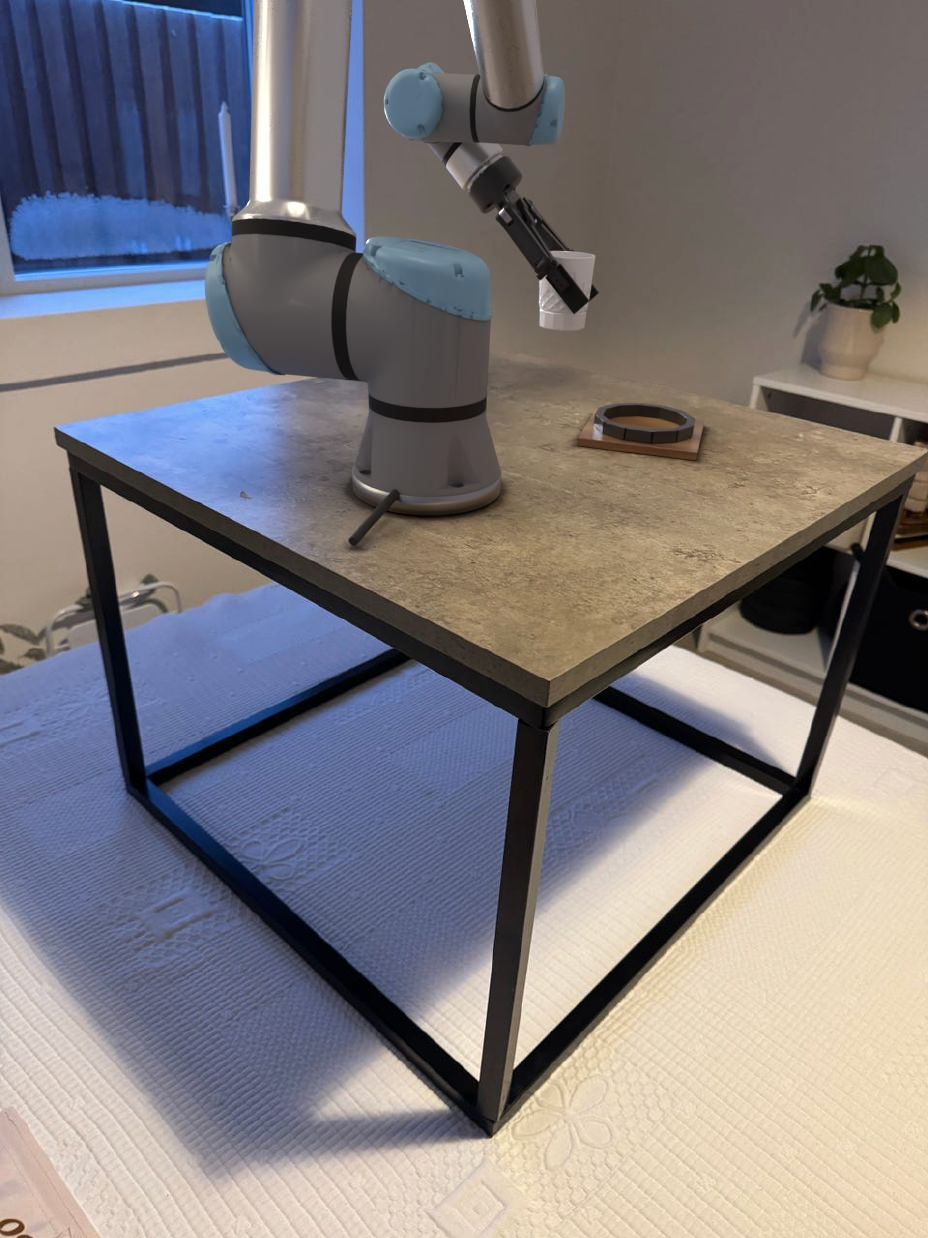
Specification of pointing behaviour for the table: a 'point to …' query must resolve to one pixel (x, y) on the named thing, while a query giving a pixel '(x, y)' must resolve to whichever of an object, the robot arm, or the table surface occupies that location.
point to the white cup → (550, 302)
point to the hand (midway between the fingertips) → (586, 303)
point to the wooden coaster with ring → (643, 430)
